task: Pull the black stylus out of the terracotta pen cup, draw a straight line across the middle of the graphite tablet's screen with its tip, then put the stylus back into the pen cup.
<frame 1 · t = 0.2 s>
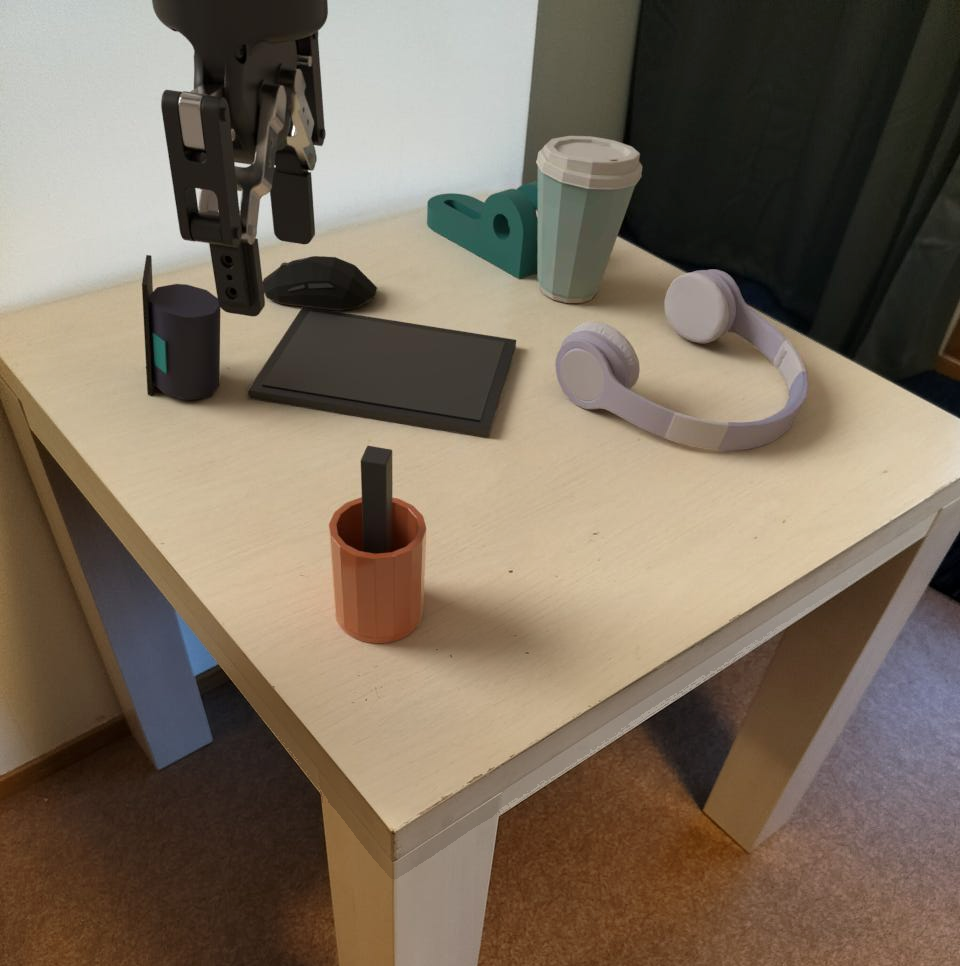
hand: (270, 273, 48), 23 cm above the table, tool pointing down, fingers open, 8 cm apart
tablet: (389, 371, 85), on the table
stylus: (379, 605, 63), point 1 cm above the table, touching pen cup
pen cup: (379, 611, 64), on the table
speaker: (189, 384, 82), on the table
bracket: (486, 243, 106), on the table
disposable coffee cup: (569, 291, 99), on the table
gaming mouse: (306, 296, 94), on the table
headphones: (693, 393, 87), on the table
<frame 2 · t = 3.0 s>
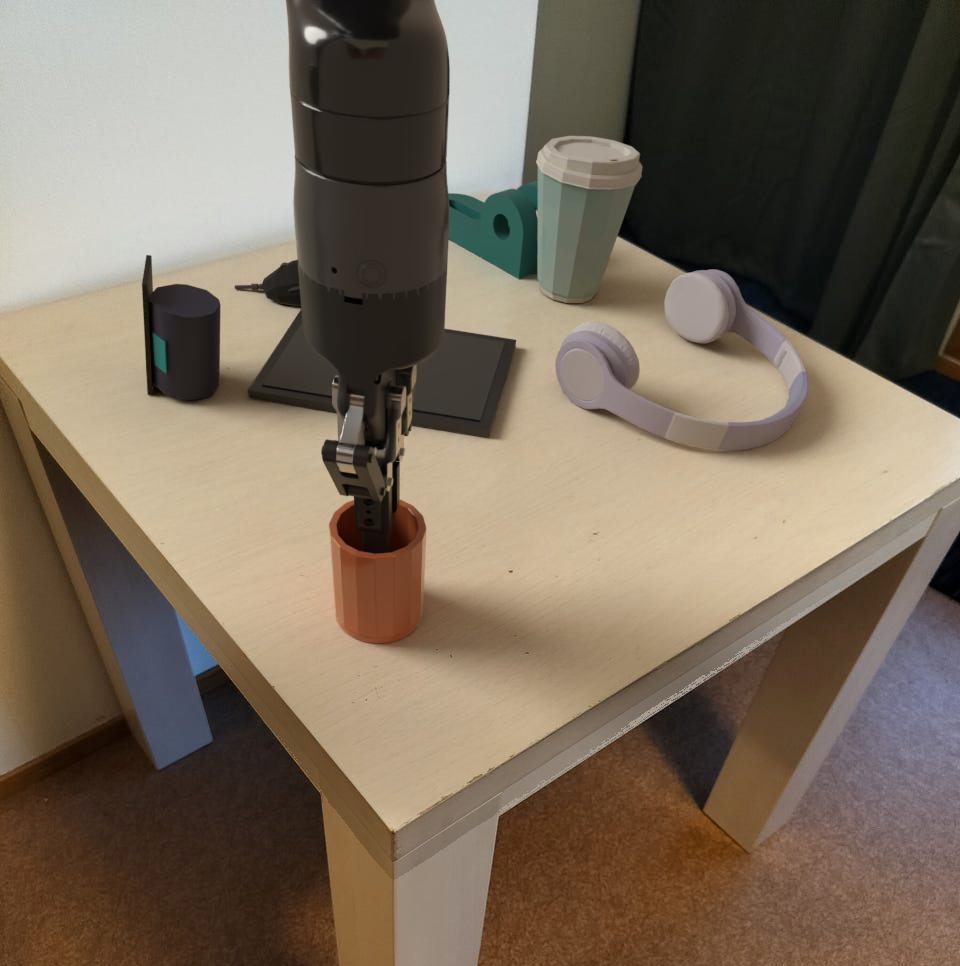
hand: (377, 518, 58), 9 cm above the table, tool pointing down, fingers closed on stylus
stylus: (378, 605, 63), point 1 cm above the table, touching gripper
everything else where it was.
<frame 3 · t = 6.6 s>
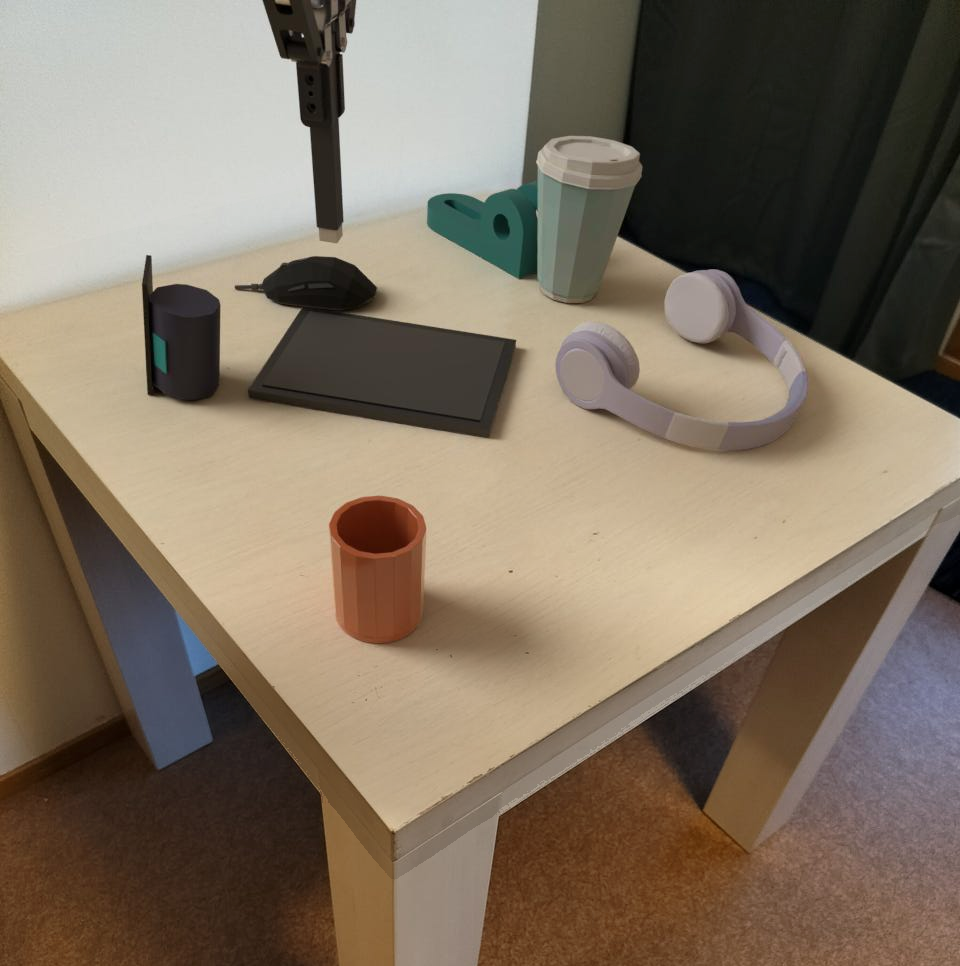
hand: (323, 119, 61), 24 cm above the table, tool pointing down, fingers closed on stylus
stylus: (331, 238, 67), point 16 cm above the table, touching gripper
everything else where it was.
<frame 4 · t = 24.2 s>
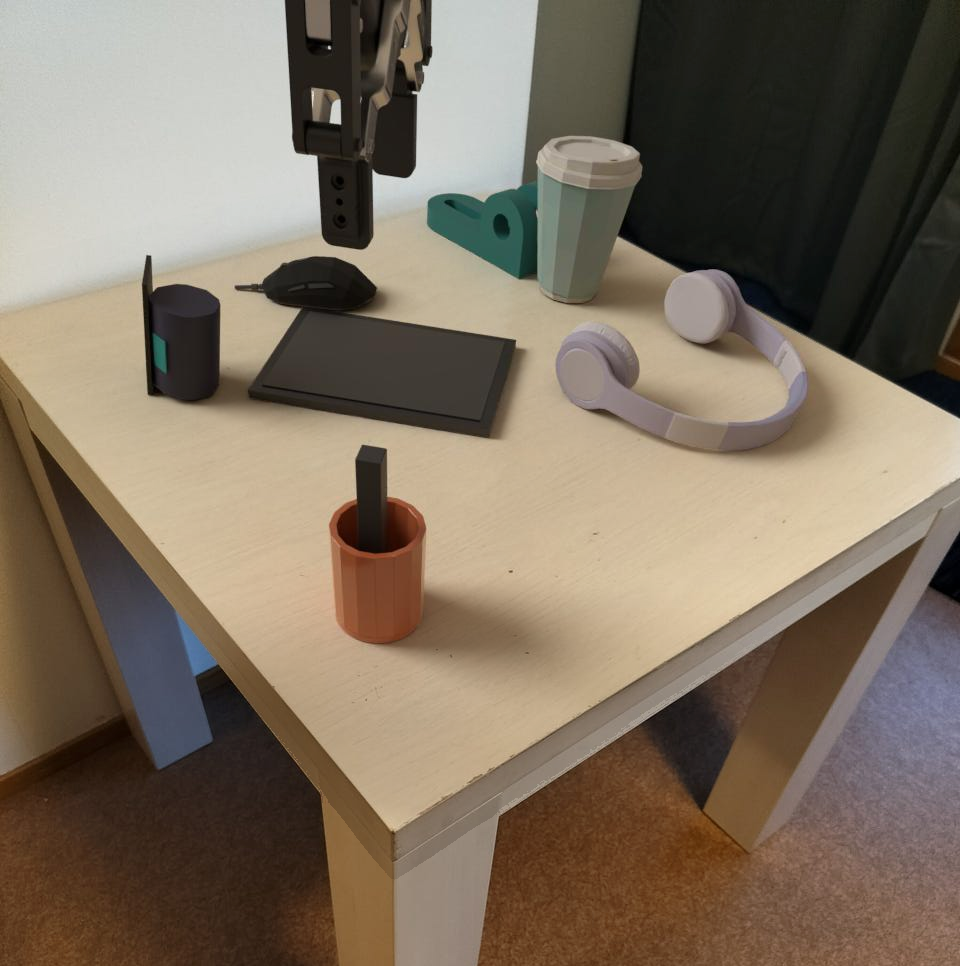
hand: (372, 207, 43), 28 cm above the table, tool pointing down, fingers open, 8 cm apart
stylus: (374, 604, 63), point 1 cm above the table, touching pen cup
everything else where it was.
at the end: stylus 0.3 cm off-centre in the pen cup, point 0.6 cm above the pen cup's base; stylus tilted 0°; tablet moved 0.0 cm from its start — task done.
